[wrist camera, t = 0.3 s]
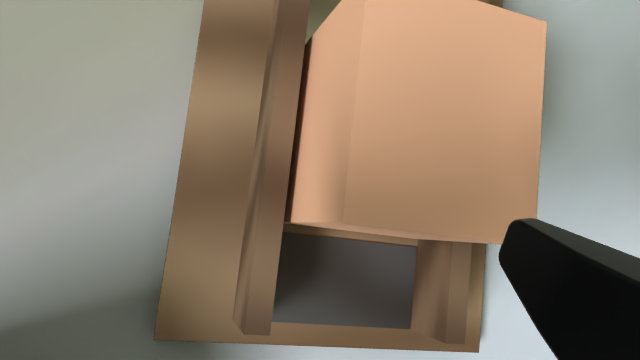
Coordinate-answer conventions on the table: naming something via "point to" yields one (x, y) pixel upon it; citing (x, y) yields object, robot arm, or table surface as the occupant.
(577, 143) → the table surface
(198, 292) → the tray
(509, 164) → the slider block
